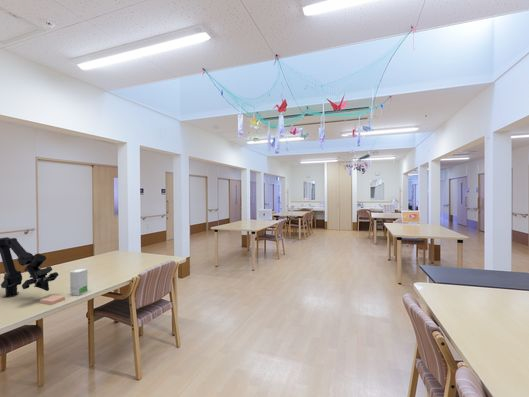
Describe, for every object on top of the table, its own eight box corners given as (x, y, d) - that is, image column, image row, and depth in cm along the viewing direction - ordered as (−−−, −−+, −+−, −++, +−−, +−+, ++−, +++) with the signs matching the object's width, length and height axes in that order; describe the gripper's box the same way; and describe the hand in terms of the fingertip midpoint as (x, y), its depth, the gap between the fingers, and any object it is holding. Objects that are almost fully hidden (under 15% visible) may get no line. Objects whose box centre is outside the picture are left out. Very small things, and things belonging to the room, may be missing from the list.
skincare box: (78, 295, 178) (78, 272, 178) (69, 295, 179) (69, 271, 178) (88, 291, 186) (88, 268, 186) (79, 290, 187) (79, 268, 187)
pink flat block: (39, 299, 166) (51, 301, 163) (53, 295, 174) (64, 296, 171) (39, 303, 166) (52, 305, 163) (53, 298, 174) (64, 300, 171)
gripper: (25, 267, 161) (38, 287, 159) (56, 259, 179) (69, 277, 177) (15, 279, 164) (29, 299, 161) (47, 270, 182) (60, 288, 179)
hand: (48, 290), depth 169 cm, fingers closed
